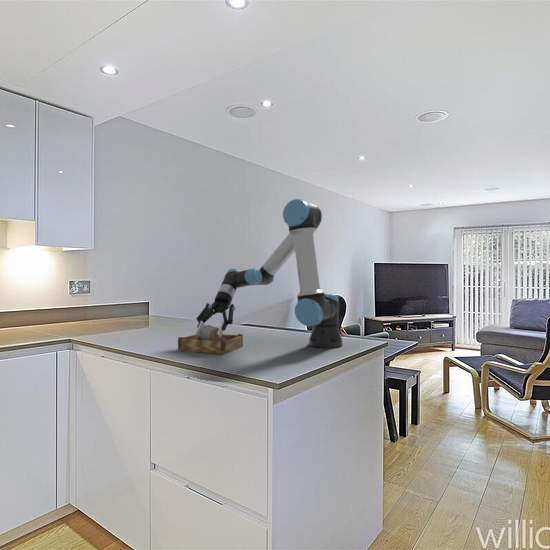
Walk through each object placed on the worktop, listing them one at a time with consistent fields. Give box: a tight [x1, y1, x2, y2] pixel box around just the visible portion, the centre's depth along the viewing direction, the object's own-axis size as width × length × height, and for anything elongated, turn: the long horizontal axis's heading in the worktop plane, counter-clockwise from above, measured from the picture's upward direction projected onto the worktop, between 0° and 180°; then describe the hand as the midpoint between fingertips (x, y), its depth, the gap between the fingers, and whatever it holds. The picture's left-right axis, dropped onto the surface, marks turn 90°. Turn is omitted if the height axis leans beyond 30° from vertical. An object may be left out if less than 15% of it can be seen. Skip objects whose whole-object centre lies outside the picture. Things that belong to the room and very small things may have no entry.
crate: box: [177, 333, 244, 355], centre depth 173 cm, size 22×18×6 cm
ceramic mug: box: [200, 324, 226, 341], centre depth 173 cm, size 11×8×8 cm
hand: (208, 335), depth 170 cm, fingers closed on ceramic mug, 10 cm apart
